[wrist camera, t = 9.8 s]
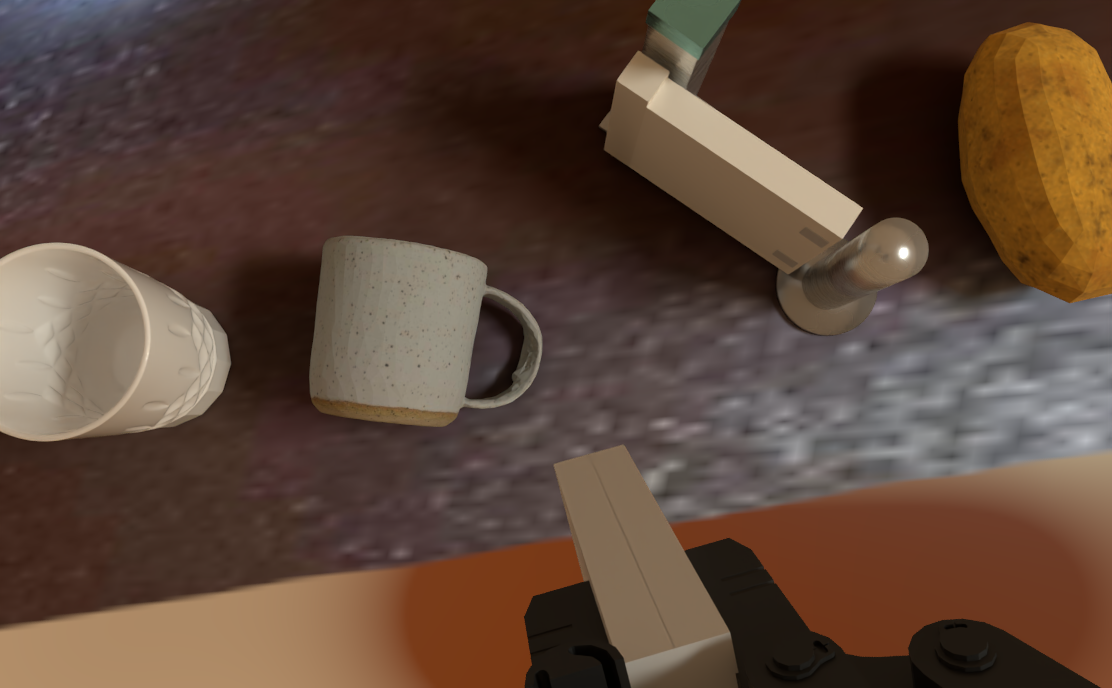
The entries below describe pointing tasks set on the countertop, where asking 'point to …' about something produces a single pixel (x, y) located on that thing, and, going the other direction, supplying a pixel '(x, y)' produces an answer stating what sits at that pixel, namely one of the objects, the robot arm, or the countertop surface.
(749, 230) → the gate
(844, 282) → the gate posts
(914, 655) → the robot arm
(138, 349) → the white cup
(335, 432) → the countertop surface
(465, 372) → the ceramic mug
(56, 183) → the countertop surface
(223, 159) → the countertop surface
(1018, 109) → the potato
